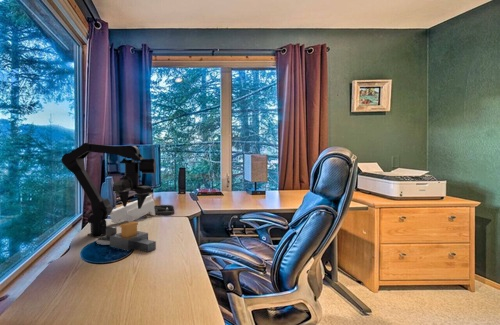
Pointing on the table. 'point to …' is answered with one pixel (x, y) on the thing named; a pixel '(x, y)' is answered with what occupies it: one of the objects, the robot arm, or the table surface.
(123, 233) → the tan stepped block
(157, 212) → the black stapler
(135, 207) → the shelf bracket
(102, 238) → the ring lock bracket
